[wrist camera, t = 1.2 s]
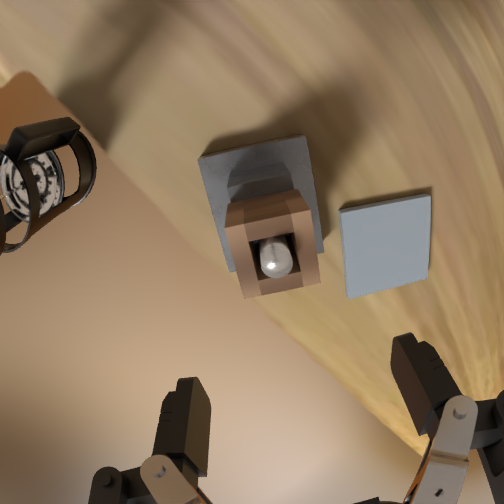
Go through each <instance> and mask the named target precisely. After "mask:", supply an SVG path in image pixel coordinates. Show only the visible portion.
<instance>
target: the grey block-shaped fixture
mask: <svg viewBox="0 0 504 504" xmlns="http://www.w3.org/2000/svg"><path fill="white" fill-rule="evenodd" d="M198 163H199V167H200V171H201V174H202V178H203V181H204V185H205V189H206V192H207V196H208V199H209V203H210V207H211V210H212V214H213V217H214V221H215V224H216V228H217V231H218V235H219V238H220V241H221V245H222V248H223V252H224V255H225V259H226V262H227V265H228V269H229V272H233V271H236V268H235V265H234V261H233V258H232V254H231V251H230V247H229V244H228V240H227V236H226V233H225V229H224V226H225V219H226V212H227V205H228V204H229V203H233V202H237V201H242V200H246V199H251V198H255V197H260V196H265V195H269V194H274V193H279V192H284V191H289V190H294V189H298V190H299V192H300V194H301V195H302V197H303V199H304V200H305V202H306V203H307V205H308V207H309V208H310V210H311V216H312V223H313V230H314V236H315V243H316V250H317V254H319V253H324V247H323V239H322V232H321V224H320V217H319V211H318V204H317V197H316V191H315V185H314V179H313V173H312V167H311V161H310V155H309V150H308V144H307V139H306V136H305V135H303V134H300V135H294V136H289V137H283V138H278V139H273V140H268V141H263V142H259V143H254V144H249V145H245V146H240V147H236V148H232V149H227V150H223V151H219V152H215V153H211V154H207V155H203V156H200V157H199V159H198ZM288 241H291V238H290V233H287V234H282V235H278V236H273V237H268V238H263V239H259V240H254V241H253V242H254V246H255V248H259V251H260V260H261V268H262V271H263V272H264V273H265V274H266V275H267V276H269V277H271V278H281V277H284V276H286V275H287V274H288V273H289V272H290V271H291V269H292V266H293V261H292V257H291V254H290V251H289V247H288V244H287V242H288Z"/></svg>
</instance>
